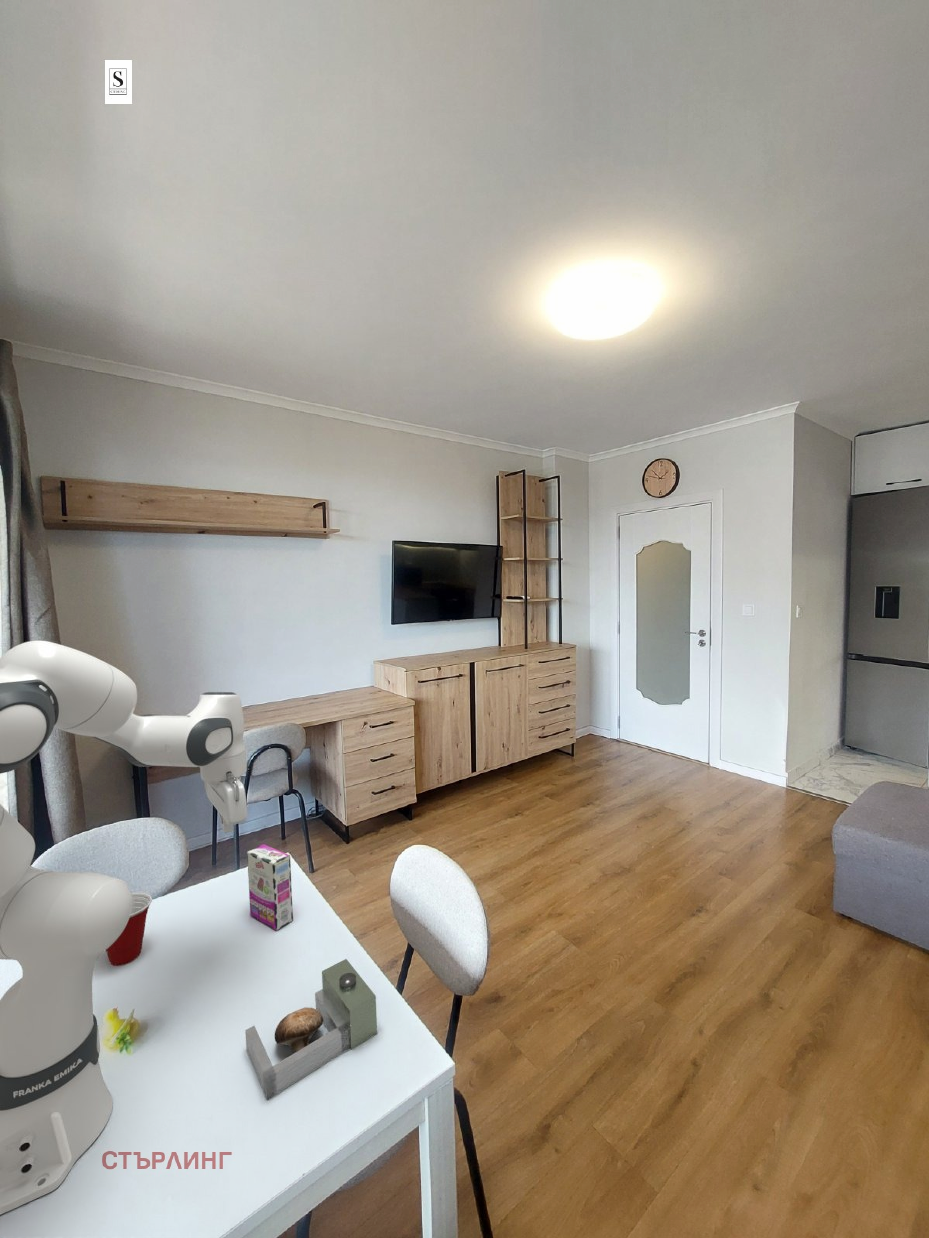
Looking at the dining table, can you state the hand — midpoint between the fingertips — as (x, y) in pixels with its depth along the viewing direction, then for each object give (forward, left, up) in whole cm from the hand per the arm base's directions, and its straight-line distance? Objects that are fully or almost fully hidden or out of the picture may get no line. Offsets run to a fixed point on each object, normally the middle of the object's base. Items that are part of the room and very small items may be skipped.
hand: (227, 830), depth 107 cm
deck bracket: (+5, -30, -29) cm, 42 cm away
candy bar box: (+11, +10, -29) cm, 33 cm away
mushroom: (+4, -29, -29) cm, 41 cm away
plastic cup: (-18, +18, -29) cm, 39 cm away
